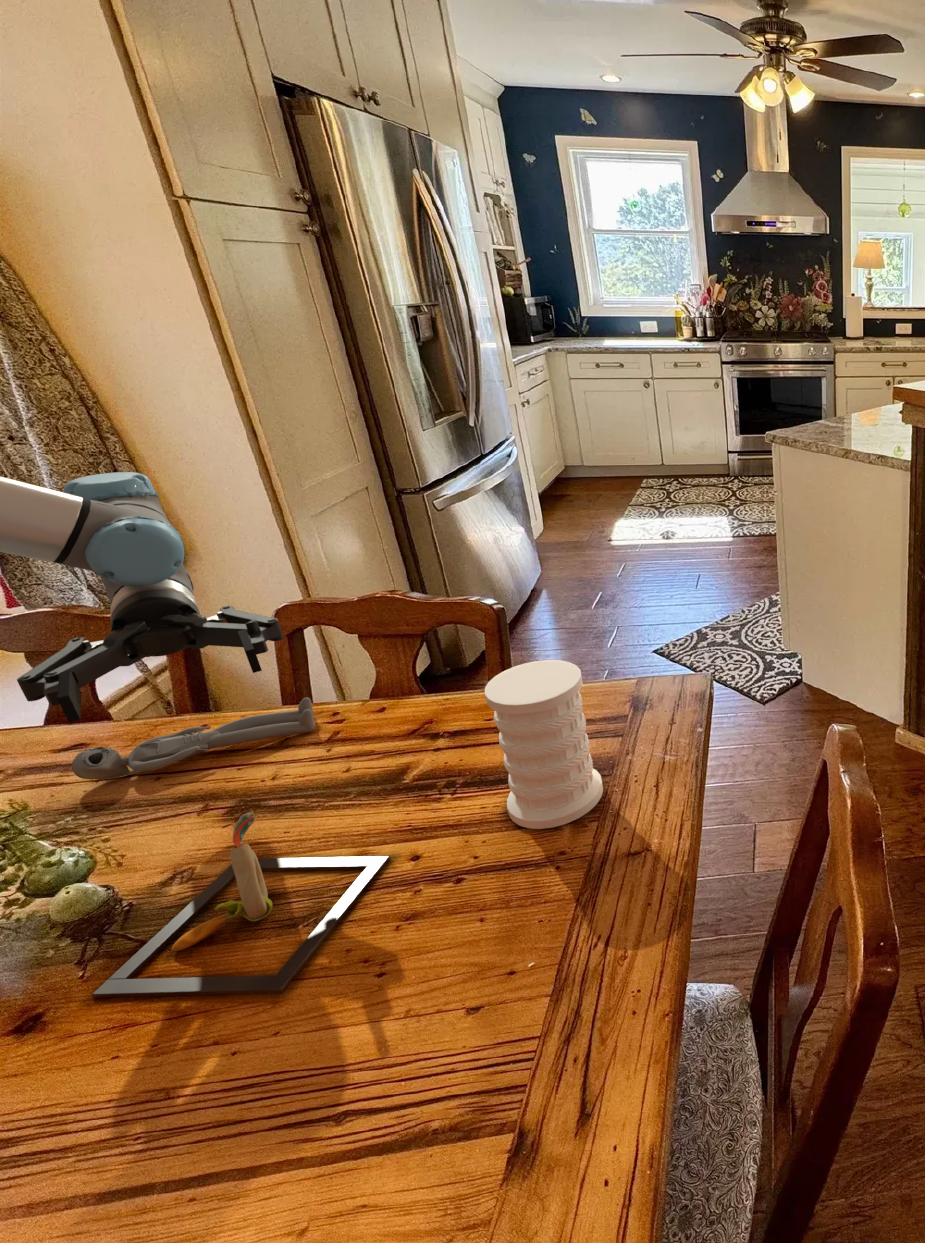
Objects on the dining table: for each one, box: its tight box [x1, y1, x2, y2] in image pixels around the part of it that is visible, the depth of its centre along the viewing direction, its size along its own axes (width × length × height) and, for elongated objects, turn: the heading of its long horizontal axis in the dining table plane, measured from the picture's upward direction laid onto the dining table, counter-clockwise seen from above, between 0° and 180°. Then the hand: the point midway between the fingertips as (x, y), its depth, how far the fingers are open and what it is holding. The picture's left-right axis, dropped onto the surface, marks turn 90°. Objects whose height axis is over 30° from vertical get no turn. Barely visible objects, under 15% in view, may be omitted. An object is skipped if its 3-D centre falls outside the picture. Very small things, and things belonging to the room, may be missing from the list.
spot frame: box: [91, 855, 391, 999], centre depth 75 cm, size 17×17×1 cm
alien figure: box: [71, 696, 316, 780], centre depth 100 cm, size 8×5×25 cm
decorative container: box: [484, 659, 604, 830], centre depth 91 cm, size 12×12×18 cm
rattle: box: [170, 812, 274, 952], centre depth 73 cm, size 8×8×12 cm
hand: (167, 683), depth 72 cm, fingers open, 13 cm apart
